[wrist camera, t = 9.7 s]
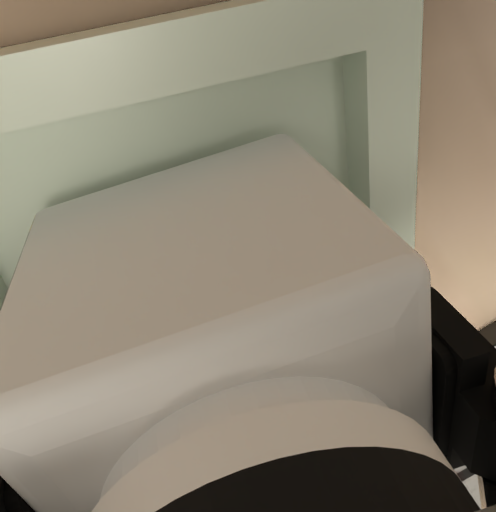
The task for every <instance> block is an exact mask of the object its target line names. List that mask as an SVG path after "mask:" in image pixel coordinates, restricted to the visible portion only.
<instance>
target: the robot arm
mask: <svg viewBox="0 0 496 512" xmlns="http://www.w3.org/2000/svg"><path fill="white" fill-rule="evenodd" d="M431 343H432V399H433V440H434V442H435V443H436V444H437V446H438V447H439V449H440V450H441V452H442V453H443V455H444V456H445V458H446V459H447V461H448V462H449V464H450V465H451V466H452V468H453V469H456V468H459V467H462V466H466V467H467V469H468V470H469V472H470V473H473V474H476V475H477V477H478V485H479V493H480V501H481V508H482V509H481V510H478V511H475V512H496V348H495V347H494V346H493V345H492V344H491V343H490V342H489V341H488V340H487V339H486V338H485V337H483V336H482V335H481V334H480V333H479V332H478V331H477V330H476V329H475V328H474V327H473V326H472V325H471V324H470V323H469V322H468V321H467V320H466V319H465V318H464V317H463V316H462V315H461V314H460V313H459V312H458V311H457V310H456V309H455V308H454V307H453V306H452V305H451V304H450V303H449V302H448V301H447V300H446V299H445V298H444V297H443V296H442V295H441V294H440V293H439V292H437V291H436V290H435V289H434V288H432V287H431ZM0 512H35V511H34V510H33V509H32V508H31V507H30V506H29V505H28V504H27V503H26V502H25V500H24V499H23V498H22V497H21V496H20V495H19V494H18V493H17V492H16V491H15V490H14V489H13V488H12V487H11V486H10V485H9V484H8V483H7V482H6V481H5V480H4V479H3V478H2V477H1V476H0Z"/></svg>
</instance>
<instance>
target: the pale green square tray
mask: <svg viewBox="0 0 496 512" xmlns="http://www.w3.org/2000/svg"><path fill="white" fill-rule="evenodd" d="M423 5H424V0H229V1H225V2H220V3H215V4H210V5H205V6H200V7H196V8H191V9H186V10H181V11H176V12H171V13H167V14H162V15H157V16H152V17H147V18H142V19H138V20H133V21H128V22H123V23H118V24H114V25H109V26H104V27H99V28H94V29H89V30H85V31H80V32H75V33H70V34H65V35H60V36H56V37H51V38H46V39H41V40H36V41H31V42H27V43H22V44H17V45H12V46H7V47H2V48H0V309H1V307H2V304H3V301H4V299H5V296H6V293H7V290H8V288H9V285H10V282H11V280H12V277H13V274H14V272H15V269H16V266H17V263H18V261H19V258H20V255H21V253H22V250H23V247H24V245H25V242H26V239H27V236H28V234H29V231H30V228H31V226H32V223H33V220H34V218H35V215H36V214H37V213H38V212H40V211H41V210H43V209H44V208H48V207H51V206H54V205H57V204H60V203H63V202H66V201H69V200H73V199H76V198H79V197H82V196H85V195H88V194H91V193H94V192H98V191H101V190H104V189H107V188H110V187H113V186H116V185H119V184H123V183H126V182H129V181H132V180H135V179H138V178H141V177H144V176H148V175H151V174H154V173H157V172H160V171H163V170H166V169H170V168H173V167H176V166H179V165H182V164H185V163H188V162H191V161H195V160H198V159H201V158H204V157H207V156H210V155H213V154H216V153H220V152H223V151H226V150H229V149H232V148H235V147H238V146H241V145H245V144H248V143H251V142H254V141H257V140H260V139H263V138H266V137H270V136H273V135H276V134H286V135H288V136H290V137H291V138H293V139H294V140H295V141H296V142H297V143H298V144H299V145H300V146H301V147H302V148H304V149H305V150H306V151H307V152H308V153H309V154H310V155H311V156H312V157H313V158H315V159H316V160H317V161H318V162H319V163H320V164H321V165H322V166H323V167H324V168H325V169H327V170H328V171H329V172H330V173H331V174H332V175H333V176H334V177H335V178H336V179H338V180H339V181H340V182H341V183H342V184H343V185H344V186H345V187H346V188H347V189H348V190H350V191H351V192H352V193H353V194H354V195H355V196H356V197H357V198H358V199H359V200H361V201H362V202H363V203H364V204H365V205H366V206H367V207H368V208H369V209H370V210H371V211H373V212H374V213H375V214H376V215H377V216H378V217H379V218H380V219H381V220H382V221H384V222H385V223H386V224H387V225H388V226H389V227H390V228H391V229H392V230H393V231H394V232H396V233H397V234H398V235H399V236H400V237H401V238H402V239H403V240H404V241H405V242H407V243H408V244H409V245H410V246H411V247H412V248H413V249H414V247H415V220H416V193H417V166H418V139H419V113H420V86H421V59H422V32H423Z"/></svg>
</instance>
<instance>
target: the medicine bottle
mask: <svg viewBox="0 0 496 512" xmlns="http://www.w3.org/2000/svg"><path fill="white" fill-rule="evenodd" d="M0 476H1V477H2V478H3V479H4V480H5V481H6V482H7V483H8V484H9V485H10V486H11V487H12V488H13V489H14V490H15V491H16V492H17V493H18V494H19V495H20V496H21V497H22V498H23V499H24V500H25V502H26V503H27V504H28V505H29V506H30V507H31V508H32V509H33V510H34V511H35V512H475V511H478V510H481V509H480V508H479V506H478V505H477V503H476V502H475V500H474V499H473V497H472V496H471V494H470V493H469V491H468V490H467V488H466V487H465V486H464V484H463V483H462V481H461V480H460V478H459V477H458V475H457V474H456V472H455V471H454V469H453V468H452V466H451V465H450V464H449V462H448V461H447V459H446V458H445V456H444V455H443V453H442V452H441V450H440V449H439V447H438V446H437V444H436V443H435V442H434V440H433V399H432V343H431V287H430V272H429V269H428V267H427V264H426V262H425V260H424V258H423V257H422V256H421V255H420V254H419V253H418V252H416V251H415V250H414V249H413V248H412V247H411V246H410V245H409V244H408V243H407V242H405V241H404V240H403V239H402V238H401V237H400V236H399V235H398V234H397V233H396V232H394V231H393V230H392V229H391V228H390V227H389V226H388V225H387V224H386V223H385V222H384V221H382V220H381V219H380V218H379V217H378V216H377V215H376V214H375V213H374V212H373V211H371V210H370V209H369V208H368V207H367V206H366V205H365V204H364V203H363V202H362V201H361V200H359V199H358V198H357V197H356V196H355V195H354V194H353V193H352V192H351V191H350V190H348V189H347V188H346V187H345V186H344V185H343V184H342V183H341V182H340V181H339V180H338V179H336V178H335V177H334V176H333V175H332V174H331V173H330V172H329V171H328V170H327V169H325V168H324V167H323V166H322V165H321V164H320V163H319V162H318V161H317V160H316V159H315V158H313V157H312V156H311V155H310V154H309V153H308V152H307V151H306V150H305V149H304V148H302V147H301V146H300V145H299V144H298V143H297V142H296V141H295V140H294V139H293V138H291V137H290V136H288V135H286V134H276V135H273V136H270V137H266V138H263V139H260V140H257V141H254V142H251V143H248V144H245V145H241V146H238V147H235V148H232V149H229V150H226V151H223V152H220V153H216V154H213V155H210V156H207V157H204V158H201V159H198V160H195V161H191V162H188V163H185V164H182V165H179V166H176V167H173V168H170V169H166V170H163V171H160V172H157V173H154V174H151V175H148V176H144V177H141V178H138V179H135V180H132V181H129V182H126V183H123V184H119V185H116V186H113V187H110V188H107V189H104V190H101V191H98V192H94V193H91V194H88V195H85V196H82V197H79V198H76V199H73V200H69V201H66V202H63V203H60V204H57V205H54V206H51V207H48V208H44V209H43V210H41V211H40V212H38V213H37V214H36V215H35V218H34V220H33V223H32V226H31V228H30V231H29V234H28V236H27V239H26V242H25V245H24V247H23V250H22V253H21V255H20V258H19V261H18V263H17V266H16V269H15V272H14V274H13V277H12V280H11V282H10V285H9V288H8V290H7V293H6V296H5V299H4V301H3V304H2V307H1V309H0Z"/></svg>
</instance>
